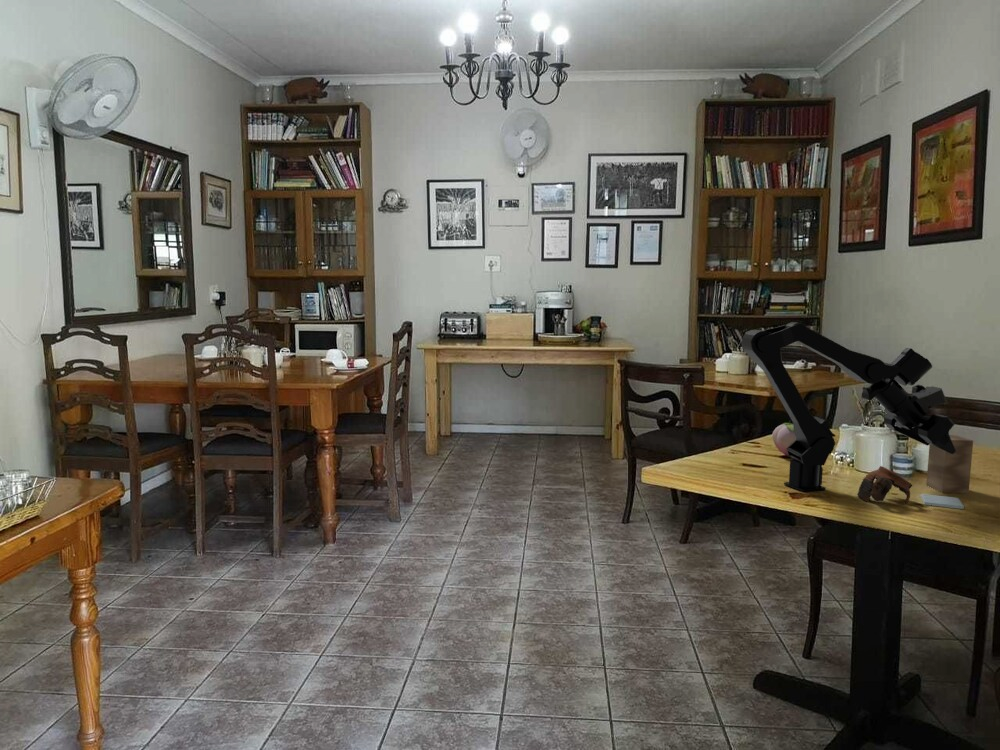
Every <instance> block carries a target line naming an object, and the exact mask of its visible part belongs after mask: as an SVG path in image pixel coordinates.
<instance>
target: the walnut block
mask: <svg viewBox="0 0 1000 750" xmlns="http://www.w3.org/2000/svg"><path fill="white" fill-rule="evenodd" d="M949 436H950V438H951V441H952V443H953V445H954V448H955V450H956V452H955V453H954V454H950V453H948V452H946V451H944V450H942V449H940V448H938V447H936V446H934V445H932V444H929V445H928V446H929V447H928V459H927V470H926V484H925V486H926V485H927V486H926V487H928V486H929V487H928V488H930V487H931V488H930V489H932V488H933V490H934V489H935V491H937V490H938V491H937V492H939V493H941V492H942V493H941V494H969V492H970V481H971V469H972V461H973V459H972V458H973V449H974V440H972V439H969V438H966V437H963V436H961V435H960V436H959V435H957V434H956V435H955V434H954V435H953V434H949Z"/></svg>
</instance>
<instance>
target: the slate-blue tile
mask: <svg viewBox="0 0 1000 750" xmlns="http://www.w3.org/2000/svg"><path fill="white" fill-rule="evenodd" d="M920 496H921V497H920V498H921V500H922V503H923V504H925V506H931V505H932V506H933V507H941V508H949V509H951V508H952V509H959V510H964V504H963V503H962V501H961V500H960V498H959V497H955V496H946V495H945V496H944V495H935V494H926V493H920Z"/></svg>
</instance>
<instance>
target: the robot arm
mask: <svg viewBox="0 0 1000 750" xmlns="http://www.w3.org/2000/svg"><path fill="white" fill-rule="evenodd" d="M741 339H742V340H741V342H740V344H741V348H742V350H743V352H744V353H746V355H748V357H749V358H750V359H751V360H752V361H753V363H755V364H756V365H757V366H758V367H759V368H760V369H761V370H762V371H763V373H764V374H765V376H766V378H767V380H768V382H769V383H770V384H771V387H772V388H773V391H775V393H776V395H777V398H778V399H779V400H780V403H781V404H782V405H783V407H784V409H785V411H786V413H787V414H788V416H789V418H790V420H791V421H792V424H793V427H794V433H795V436H796V440H795V441H794V442H793V443H792V444H791V445H790V446H788V447H787V453H788V456H787V457H789V458H792V459H789V474H788V481H786V482H783V485H785V486H787V487H790V488H792V489H795V490H798V491H800V492H813V491H824V490H826V489H827V487H826V486H824V485H823V471H824V468H823V467H822V466H825V465H826V463H827V460H828V458H829V456H830V455H831V454H832V453H833V451H834V449H835V446H836V441H835V438H834V437H836V434H834V433H833V432H832V430H831V428H830V426H829V423H828V421H827V420H825V419H822V418H821V417H818V416H813V414H812V413H811V411H810V409H809V407H808V405H807V404H806V403H805V400H804V398H803V397H802V395H801V393H800V391H799V389H798V388H797V386H796V384H795V383H794V381H793V379H792V378H791V376H790V374H789V372H788V370H787V369H786V367H785V365H784V363H783V358H782V352H781V349H783V348H785V347H788V346H789V345H791V344H794V343H797V344H799V345H801V347H804V348H806V349H807V350H810V351H812V352H814V353H816V354H817V355H820V356H821V357H823V358H825V359H827V360H829V361H831V362H833V363H834V364H836V366H838V367H839V369H841V370H842V371H843V372H844V373H845V374H846V375H848V376H849V377H850V378H851V379H853V380H854V381H858V382H862V383H866V384H870V385H869V386H867V387H865V386H863V387H862V388H861V389H862V392H861V395H860V396H861V399H863V400H867V401H872V400H873V399H874V398H875V400H876V401H878V402H879V404H880V405H881V406H882V407H883V408H884V409H883V412H884V413H885V414H886V415H885V416H883V424H884V425H885V426H886V427H887V428H888V429H891V430H893V431H894V432H897V433H899V434H901V435H904V436H906V437H907V438H910V439H912V440H914V441H917V442H918V443H920V444H923V445H925V446H927V447H928V446H929V445H930V444H932V445H934V446H936V447H938V448H940V449H942V450H944V451H946V452H948V453H950V454H954V453H955V452H956V450H955V448H954V445H953V443H952V441H951V438H950V436H949V435H950V430H951V429H952V428H953V427H954V426H955V422H954V421H953V420H952V419H951V418H950V417H949V416H946V415H942V414H932V415H931V416H930V417H927V416H928V415H929V414H930V413H932V408H935V407H937V406H939V405H941V404H942V405H943V404H945V403H947V398H946V396H945V393H944V390H943V388H941V387H937V386H926V387H925V386H924V385H923V384H922V385H921V384H916V383H917V382H919V380H921V379H922V377H924V375H926V374H927V373H928V372H930V370H931V369H932V368H933V364H932V363H931V361H930V360H929V359H928V358H927V357H924V356H923V355H922V354H920V353H919V352H917V351H915V350H914V349H913V348H910V347H905V348H904V349H903V350H902V351H901V353H900V354H899V355H898V356H897V357H896V358H895V359H894V360H892V362H891V363H888V362H884V361H883V360H881V359H879V358H878V357H874V356H872V355H871V356H870V355H867V354H865V353H860V352H857V351H855V350H851V349H848V348H847V347H846V346H845V347H844V346H843V345H842V344H839V343H838V342H835V341H834V340H832V339H830V338H828V337H826V336H824V335H823V334H821V333H818V332H817V331H816V330H813V329H811V328H810V327H808V326H807V325H805V324H804V323H801V322H795V321H792V322H789V323H787V324H783V325H780V326H776V327H772V328H768V329H767V328H766V329H764V330H762V329H750V330H748V331H747V332H745V334H744V335H743V336H742V338H741ZM915 384H916V385H915ZM901 385H902V386H901ZM907 385H909V386H912V387H911V394H909V393H908V392H907V391H906V390H905V388H904V387H906V386H907ZM903 386H904V387H903Z"/></svg>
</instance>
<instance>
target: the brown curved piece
mask: <svg viewBox="0 0 1000 750" xmlns="http://www.w3.org/2000/svg"><path fill="white" fill-rule="evenodd" d="M858 487H859V488H858V490H857V491H858V492H857V494H856V495H857V497H858V498H860V499H861V500H863V501H865V502H866V501H867V502H866V503H868V501H869V502H870V498H872V499H873V500H874V501H878V502H884V500H885V498H886V496H887V495H888V493H889V492H890V490H892V487H894V488H896V489H897V488H898V490H899V491H900V492H902V493H903V494H905V495H906V498H905V500H904V503H907V504H908V502H909V501H910V499H911V490H910V489H911V488H912V487H913V484H912V483H911V482H909V481H908V480H906V479H905V478H904V477H902V476H901V475H898V474H896V473H895V472H894V471H892V470H890V469H888V468H887V467H885V466H882V465H880V466H879V467H878V468H877V469H875V470H873V471H869V472H868V473H867V474H865V476H864V477H863V479H862V481H861V483H860V486H858Z"/></svg>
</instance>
